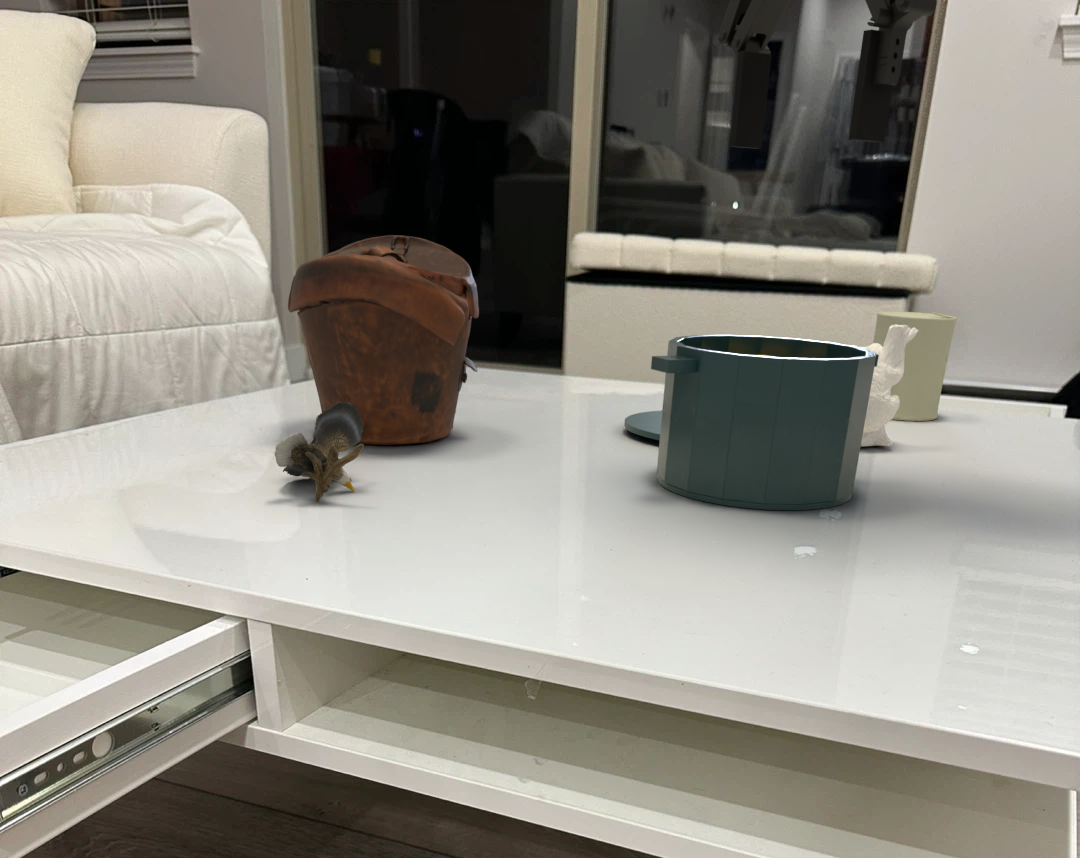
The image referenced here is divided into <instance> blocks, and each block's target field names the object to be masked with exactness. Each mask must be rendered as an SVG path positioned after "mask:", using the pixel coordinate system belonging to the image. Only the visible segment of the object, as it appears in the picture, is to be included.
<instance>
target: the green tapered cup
mask: <svg viewBox="0 0 1080 858" xmlns="http://www.w3.org/2000/svg"><path fill="white" fill-rule="evenodd" d="M957 320H958V317H956V316H953V315H948V314H944V313H940V312H936V311H932V312H931V313H930V312H916V311H896V310H895V311H894V310H893V311H888V310H887V311H885V310H883V311H878V312H877V313H876V322H875V327H874V334H873V340H872V341H873V342H872V344H874V343H878V344H880V345H881V346H882V347H883V345H884V342H885V339H886V336H887V333H888V330H889V327H890V326H891V325H908V326H909V328H910V329H912V328H914V327H915V328H916V329H917V330H919V331H918V332H917V334H916V335H915V337H914V338H913V339H911V340H910V341H909V342H908V343H907V344H906V346H905V349H904V351H905V357H904V374H903V376H902V378H901V379H900V381H899V382H898V383H897V384H895V385H892V388H891V395H897V396H899V400H900V405H899V408H898V410H897V412H896V414H895V416H894V418H893V419H892V420H893V421H894V420H895V421H907V422H908V421H909V422H927V421H934V420H937V419H938V417H939V414H938V412H939V405H940V400H941V395H942V389H943V384H944V379H945V376H946V375H945V373H946V370H947V364H948V360H949V354H950V350H951V346H952V341H953V337H954V333H955V332H954V331H955V327H956V324H957Z"/></svg>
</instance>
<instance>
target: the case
mask: <svg viewBox="0 0 1080 858" xmlns="http://www.w3.org/2000/svg"><path fill="white" fill-rule="evenodd" d="M478 294H479V293H478V288H477V283H476V280H475V278H474V276H473V272H472V268H471V266H470V264H469V263H468V262H467V261H466V260H465V258H463V257H462V256H460V255H459V254H457V253H456V252H454V251H452V250H451V249H449V248H447V247H446V246H444V245H442V244H439V243H436V242H434V241H431V240H428V239H425V238H422V237H417V236H411V235H399V234H397V235H396V234H395V235H394V234H388V235H380V236H374V237H369V238H364V239H361V240H357V241H355V242H351V243H350V244H349V243H348V244H347V245H344V246H343V247H341V248H339V249H337V250H335V251H332V252H329V253H327V254H325V255H322V256H321V257H319V258H315V259H312V260H307V261H305V262H303V263H301V264H300V265H299V266H298V267H297V269H296V271H295V273H294V275H293V279H292V282H291V285H290V291H289V295H288V300H287V310H288V312H289V313H295V312H297V317H298V318H299V320H300V325H301V330H302V333H303V338H304V341H305V346H306V350H307V354H308V359H309V364H310V367H311V372H312V375H313V380H314V384H315V387H316V392H317V396H318V400H319V405H320V410H321V413H323V412H324V411H325V410H326V409H329V408H330V407H331V406H333V405H335V404H336V403H337V402H340V401H342V402H343V401H344V402H348V403H351V405H355V408H356V409H357V410H358V413H359V414H360V415H361V420H362V422H363V423H364V425H363V432H362V434H361V435H362V439H361V440H360V441H359V442H358V443H357V444H363V445H376V446H394V445H395V446H396V445H410V444H421V443H428V442H429V443H430V442H433V441H436V440H440V439H443V438H445V437H447V436H448V435H450V434H451V432H452V431H453V428H454V424H455V417H456V412H457V406H458V401H459V395H460V391H461V389H462V386H463V384H466V383H467V381H468V373H467V367H469V368H470V369H471V370H472V371H473V372H475V373H477V372H478V366H477V364H476V363H475V362H473V360H471V359H470V358H469V357H467V356H466V353H467V348H468V342H469V339H470V334H471V328H472V318H473V319H478V318H479V316H480V308H479V295H478Z"/></svg>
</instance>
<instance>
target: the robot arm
mask: <svg viewBox="0 0 1080 858" xmlns="http://www.w3.org/2000/svg"><path fill="white" fill-rule="evenodd" d="M791 1H792V0H729V2H728V5H727V9H726V12H725V14H724V17H723V21H722V24H721V26H720V30H719V33H718V43H719V44H720V45H721V46H727V47H728V48H730V49H732V51H733V53H734V68H733V77H732V78H733V79H732V88H731V96H732V100H733V102H732V104H733V105H732V114H731V123H730V124H731V125H730V132H729V133H730V134H729V144H728V145H729V146H728V147H730V148H741V149H743V148H744V149H753V150H759V149H762V146H763V137H764V128H765V119H766V111H767V100H768V92H769V84H770V83H769V82H770V73H771V64H772V56H773V55H772V54H771V53H772V52H771V50H770V48H769V46H768V45H769V42H770V40H771V38H772V36H773V35H774V33H775V31H776V29H777V27H778V25H779V23H780V21H781V20H782V18H783V15H785V12H786V10H787V8H788V6H789V5H790V3H791ZM864 1H865V3H866V6H867V8H868V10H869V13H870V15H871V17H870V19H869V21H867V23H866V24H867V26H869V27H873V28H878V30H877V29H865V30H863V34H862V40H861V48H860V55H859V61H858V62H859V63H858V68H857V75H856V83H855V90H854V96H853V97H854V98H853V104H852V111H851V119H850V126H849V131H848V132H849V133H848V141H857V142H866V143H867V142H869V143H884V142H885V140H886V133H887V127H888V120H889V114H890V108H891V107H890V106H891V101H892V95H893V88H894V86H897V84H898V82H899V80H900V77H901V72H902V65H903V57H904V52H905V45H906V39H907V35H908V31H910V30H911V28H912V26H913V24H914V23H915V22H916V21H918V20H919V19H921V18H922V17H930V16H931V15H933V13H935V10H936V8H937V4H938V1H937V0H864ZM737 26H738V28H737Z"/></svg>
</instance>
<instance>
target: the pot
mask: <svg viewBox="0 0 1080 858" xmlns="http://www.w3.org/2000/svg"><path fill="white" fill-rule="evenodd" d="M856 346H857V345H856ZM856 346H851V345H850V344H845V343H838V342H831V341H823V340H814V339H804V338H795V337H794V338H793V337H782V336H781V337H780V336H769V335H768V336H766V335H746V334H745V335H743V334H694V335H693V334H692V335H684V336H675V337H673V338H672V339H670V340H668V343H667V354H666V355H652V356H651V362H650V363H651V364H650V370H653V371H657V372H661V373H665V378H664V388H663V398H662V399H663V400H662V410H661V411H662V420H661V431H660V441H658V443H659V444H658V455H657V464H656V475H657V481H658V483H659V485H660V486H662V487H663V488H664V489H666V490H668V491H669V492H672V493H674V494H677V495H680V496H682V497H685V498H689V499H691V500H692V499H693V500H696V501H701V502H705V503H710V504H715V505H721V506H726V507H734V508H741V509H742V508H743V509H753V510H765V511H809V510H820V509H827V508H832V507H837V506H840V505H843V504H845V503H847V502H848V501H850V500H851V498H852V497H853V492H854V487H855V482H856V475H857V470H858V464H859V458H860V453H861V448H862V447H861V441H862V436H863V430H864V424H865V418H866V412H867V407H868V401H869V395H870V389H871V383H872V378H873V372H874V367H876V366H877V362H878V357H879V355H878V354H876V352H874V351H871V350H867V349H864V348H861V347H862V346H858V347H856ZM756 355H769V356H773V357H769V356H756Z"/></svg>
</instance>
